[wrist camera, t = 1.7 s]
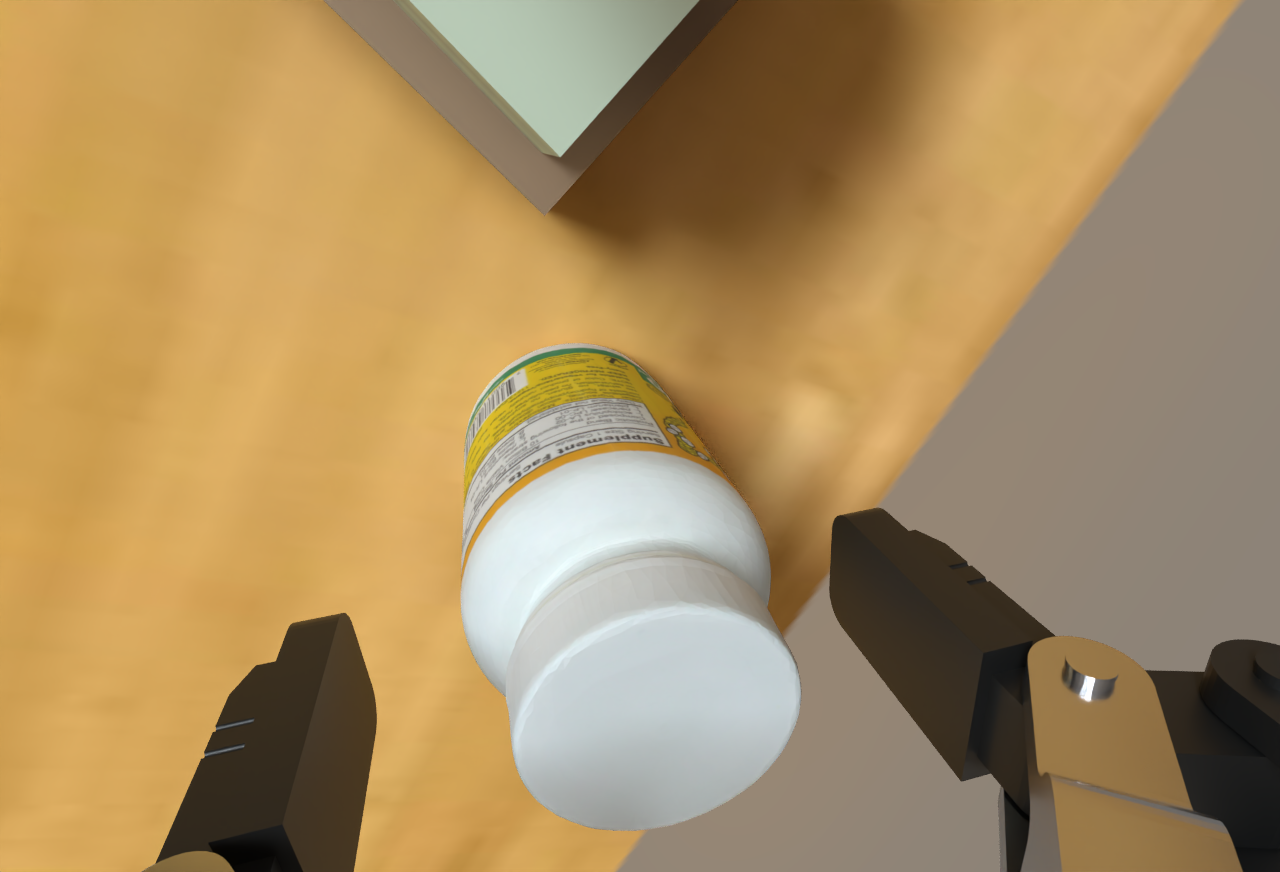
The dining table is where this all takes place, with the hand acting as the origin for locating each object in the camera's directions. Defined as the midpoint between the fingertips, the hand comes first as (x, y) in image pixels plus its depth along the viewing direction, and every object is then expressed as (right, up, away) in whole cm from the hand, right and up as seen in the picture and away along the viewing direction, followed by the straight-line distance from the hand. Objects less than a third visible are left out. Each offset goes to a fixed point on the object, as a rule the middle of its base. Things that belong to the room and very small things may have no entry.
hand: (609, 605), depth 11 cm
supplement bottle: (-1, +3, +7) cm, 7 cm away
